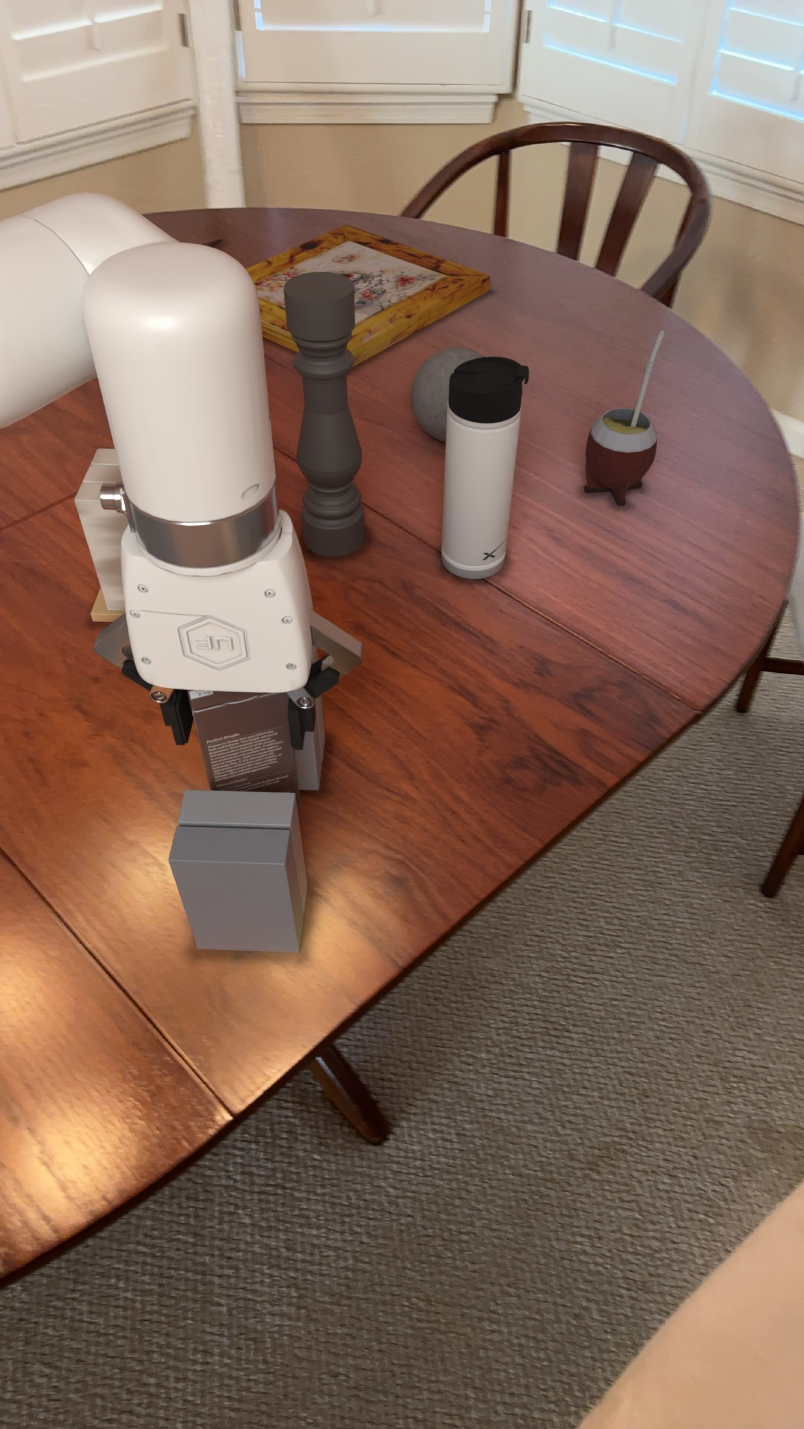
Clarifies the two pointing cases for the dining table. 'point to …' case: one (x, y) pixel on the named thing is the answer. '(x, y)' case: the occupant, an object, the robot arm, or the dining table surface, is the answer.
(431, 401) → the decorative ball
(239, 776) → the box
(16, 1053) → the dining table surface
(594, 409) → the dining table surface
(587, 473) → the mate gourd
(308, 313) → the candle holder
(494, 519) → the travel mug
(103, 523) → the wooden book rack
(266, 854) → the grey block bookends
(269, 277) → the picture frame
